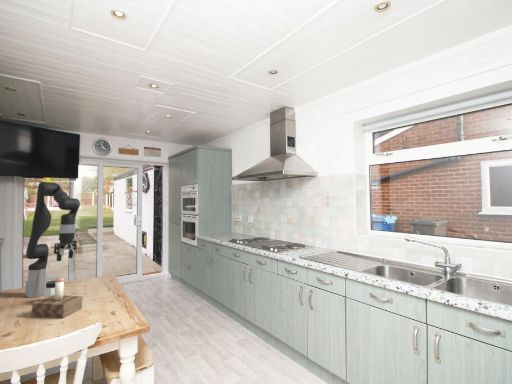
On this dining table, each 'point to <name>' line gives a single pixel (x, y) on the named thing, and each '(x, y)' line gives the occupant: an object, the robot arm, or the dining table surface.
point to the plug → (59, 289)
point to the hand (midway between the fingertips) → (64, 259)
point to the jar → (49, 289)
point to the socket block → (56, 307)
